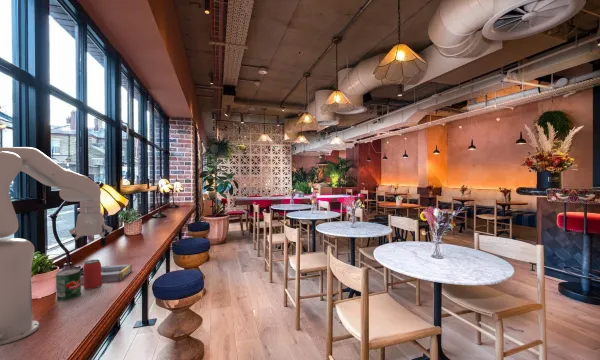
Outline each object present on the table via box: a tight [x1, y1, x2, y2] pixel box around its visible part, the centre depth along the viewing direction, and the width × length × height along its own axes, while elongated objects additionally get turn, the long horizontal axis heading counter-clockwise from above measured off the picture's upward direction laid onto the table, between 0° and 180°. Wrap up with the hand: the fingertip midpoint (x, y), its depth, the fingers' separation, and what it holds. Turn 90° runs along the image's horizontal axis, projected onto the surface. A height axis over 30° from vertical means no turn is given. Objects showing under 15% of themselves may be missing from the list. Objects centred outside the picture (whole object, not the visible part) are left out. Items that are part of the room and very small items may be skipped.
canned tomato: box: [55, 268, 82, 302], centre depth 114 cm, size 8×8×11 cm
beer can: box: [82, 259, 103, 290], centre depth 125 cm, size 7×7×12 cm
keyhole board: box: [80, 263, 133, 285], centre depth 137 cm, size 15×20×4 cm
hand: (91, 246), depth 125 cm, fingers open, 9 cm apart
